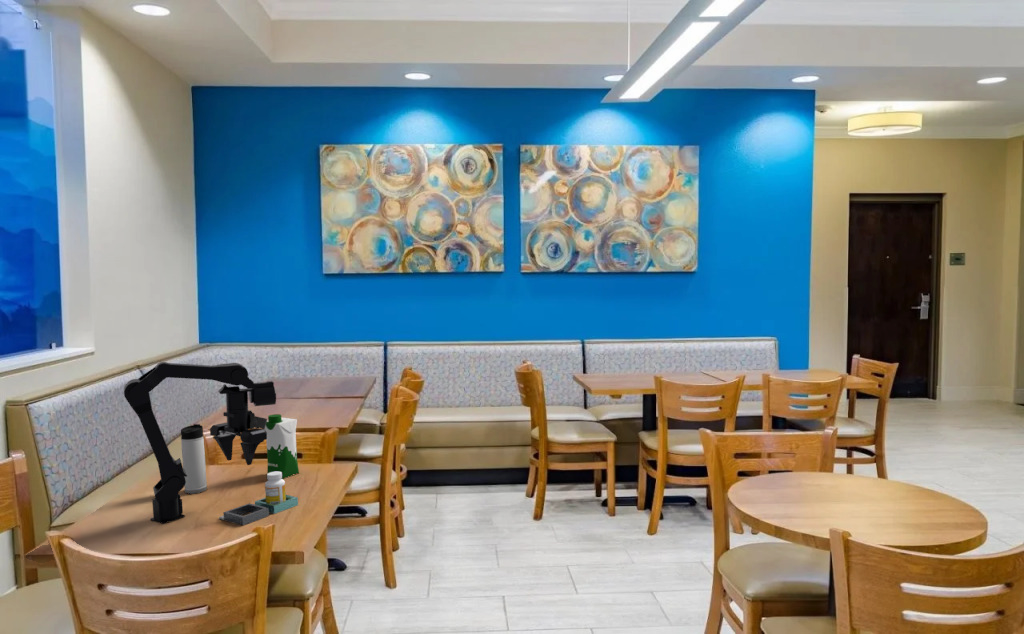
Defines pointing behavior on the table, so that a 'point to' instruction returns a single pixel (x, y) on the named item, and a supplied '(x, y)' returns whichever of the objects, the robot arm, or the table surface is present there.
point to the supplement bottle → (275, 488)
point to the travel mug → (194, 458)
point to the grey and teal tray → (257, 510)
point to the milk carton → (281, 445)
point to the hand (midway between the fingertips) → (239, 462)
